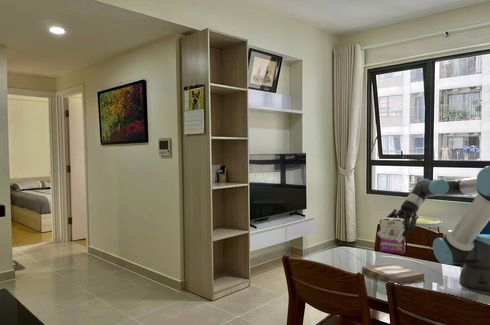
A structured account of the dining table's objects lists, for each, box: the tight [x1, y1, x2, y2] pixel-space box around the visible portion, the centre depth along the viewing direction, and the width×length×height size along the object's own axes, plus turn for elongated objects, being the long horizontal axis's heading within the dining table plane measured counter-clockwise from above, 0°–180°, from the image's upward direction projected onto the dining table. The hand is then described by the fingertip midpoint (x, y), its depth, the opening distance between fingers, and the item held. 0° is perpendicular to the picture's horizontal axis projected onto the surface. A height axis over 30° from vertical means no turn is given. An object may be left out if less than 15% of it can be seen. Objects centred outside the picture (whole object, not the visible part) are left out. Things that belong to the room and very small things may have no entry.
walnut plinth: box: [361, 261, 425, 285], centre depth 179 cm, size 20×20×3 cm
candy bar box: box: [379, 216, 406, 255], centre depth 179 cm, size 11×5×16 cm, turn 61°
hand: (388, 238), depth 178 cm, fingers closed on candy bar box, 11 cm apart
